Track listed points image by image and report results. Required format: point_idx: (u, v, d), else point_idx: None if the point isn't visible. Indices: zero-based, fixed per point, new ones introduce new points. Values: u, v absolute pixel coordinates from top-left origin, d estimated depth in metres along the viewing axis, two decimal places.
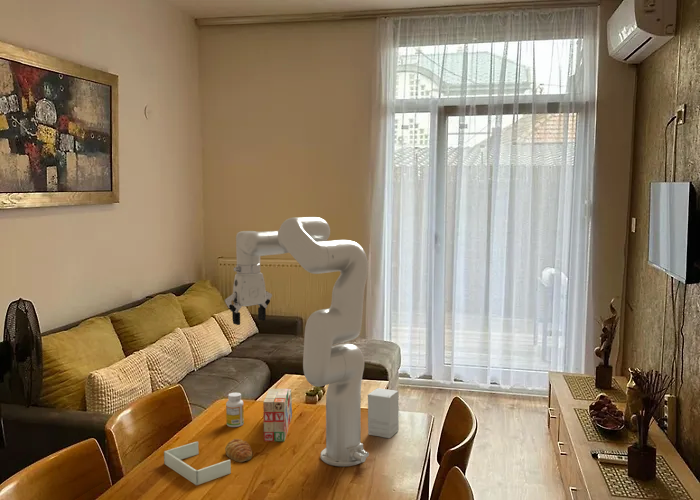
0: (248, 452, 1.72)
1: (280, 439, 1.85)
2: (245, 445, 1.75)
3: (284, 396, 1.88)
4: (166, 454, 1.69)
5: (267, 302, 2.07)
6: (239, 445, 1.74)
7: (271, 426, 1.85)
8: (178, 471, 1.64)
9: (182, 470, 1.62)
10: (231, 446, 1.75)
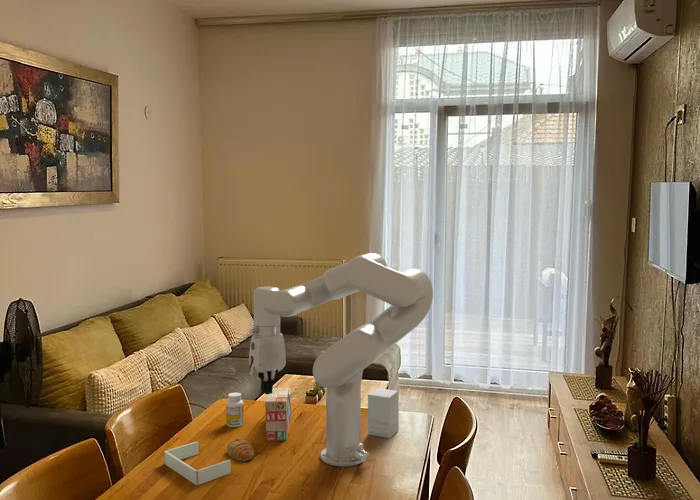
0: (250, 451, 1.73)
1: (282, 438, 1.86)
2: (247, 444, 1.75)
3: (286, 395, 1.89)
4: (166, 454, 1.69)
5: (274, 372, 1.81)
6: (241, 444, 1.75)
7: (273, 425, 1.85)
8: (178, 471, 1.64)
9: (182, 470, 1.62)
10: (232, 445, 1.75)
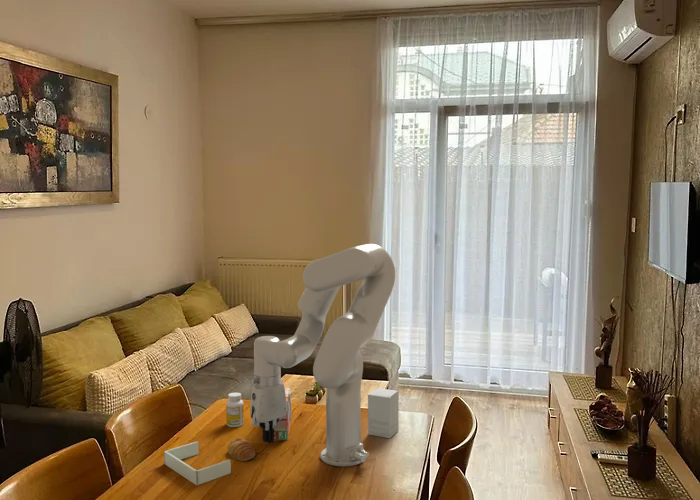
0: (251, 451, 1.73)
1: (283, 438, 1.86)
2: (248, 444, 1.76)
3: (286, 395, 1.89)
4: (166, 454, 1.69)
5: None
6: (242, 444, 1.75)
7: None
8: (178, 471, 1.64)
9: (182, 470, 1.62)
10: (233, 445, 1.76)
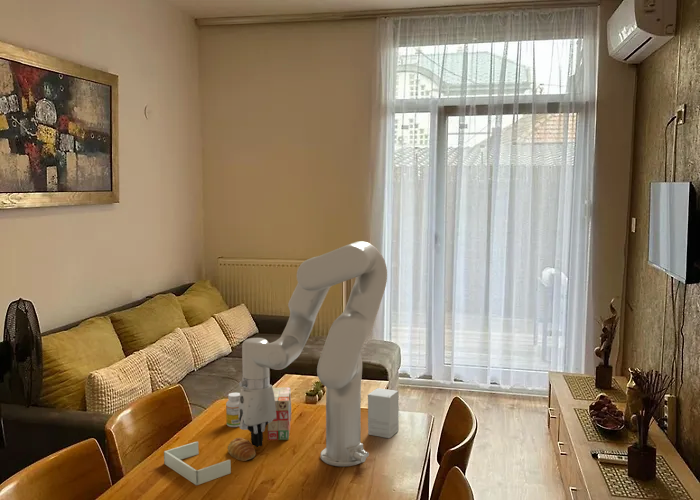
0: (252, 451, 1.73)
1: (284, 437, 1.86)
2: (248, 444, 1.76)
3: (287, 395, 1.90)
4: (166, 454, 1.69)
5: (265, 424, 1.80)
6: (242, 444, 1.75)
7: (275, 425, 1.86)
8: (178, 471, 1.64)
9: (182, 470, 1.62)
10: (234, 444, 1.76)
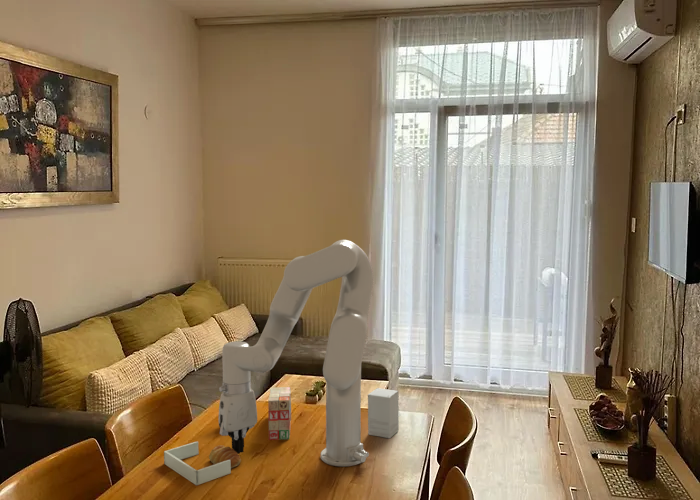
0: (237, 457, 1.69)
1: (285, 437, 1.87)
2: (231, 450, 1.71)
3: (288, 394, 1.90)
4: (166, 454, 1.69)
5: (246, 430, 1.76)
6: (226, 451, 1.70)
7: (276, 424, 1.86)
8: (178, 471, 1.64)
9: (182, 470, 1.62)
10: (216, 453, 1.70)
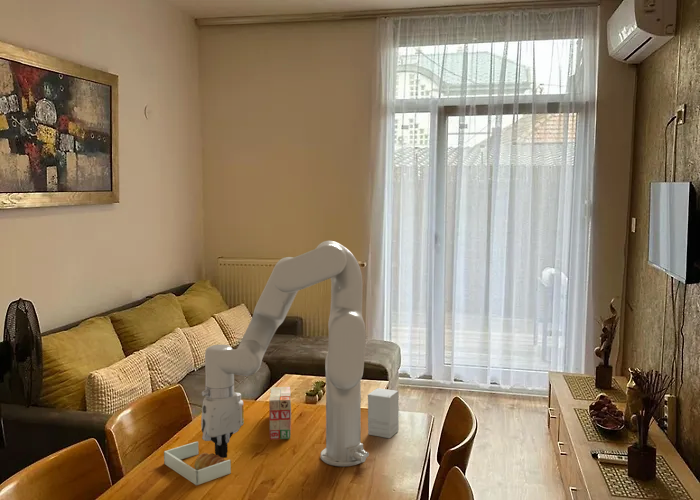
0: None
1: (286, 437, 1.87)
2: (218, 457, 1.67)
3: (288, 394, 1.90)
4: (166, 454, 1.69)
5: (229, 435, 1.72)
6: (213, 458, 1.66)
7: (277, 424, 1.86)
8: (178, 471, 1.64)
9: (182, 470, 1.62)
10: (203, 460, 1.65)
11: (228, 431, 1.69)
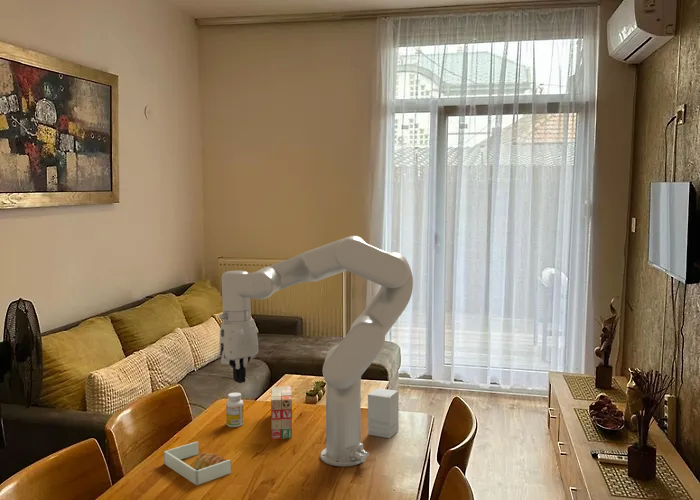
0: None
1: (288, 436, 1.88)
2: (218, 456, 1.68)
3: (290, 393, 1.91)
4: (166, 454, 1.69)
5: None
6: (213, 457, 1.66)
7: (278, 424, 1.87)
8: (178, 471, 1.64)
9: (182, 470, 1.62)
10: (203, 460, 1.66)
11: (246, 355, 1.71)
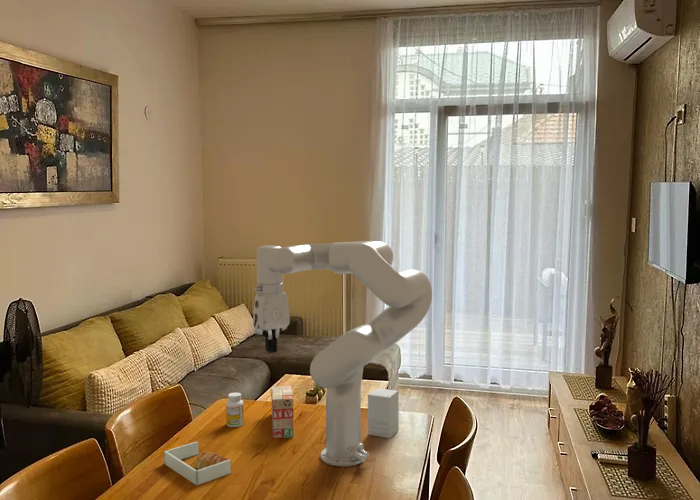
0: None
1: (289, 435, 1.88)
2: (218, 455, 1.68)
3: (291, 393, 1.91)
4: (166, 454, 1.69)
5: (279, 331, 1.82)
6: (213, 456, 1.67)
7: (280, 423, 1.87)
8: (178, 471, 1.64)
9: (182, 470, 1.62)
10: (204, 459, 1.66)
11: (278, 326, 1.80)
